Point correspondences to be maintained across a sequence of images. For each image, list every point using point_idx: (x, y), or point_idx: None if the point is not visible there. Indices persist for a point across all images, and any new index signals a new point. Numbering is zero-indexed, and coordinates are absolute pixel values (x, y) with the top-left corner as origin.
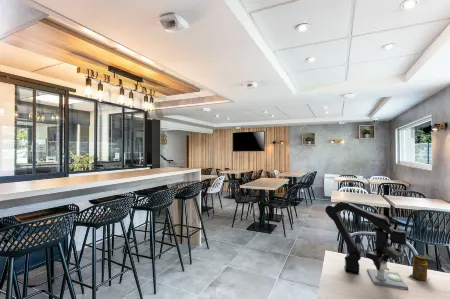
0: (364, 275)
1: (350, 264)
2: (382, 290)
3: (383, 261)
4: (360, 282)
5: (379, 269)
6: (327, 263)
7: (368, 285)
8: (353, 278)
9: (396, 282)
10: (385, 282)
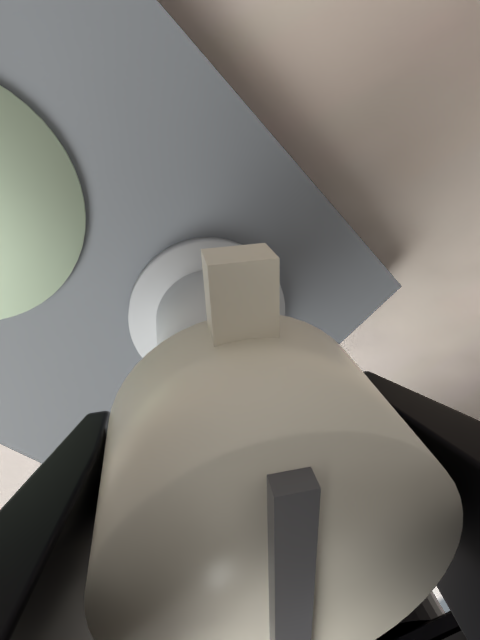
0: None
1: (434, 595)
2: (450, 117)
3: (161, 593)
4: (475, 351)
5: (372, 380)
6: None
7: (469, 277)
8: None
9: (74, 88)
10: (274, 193)
